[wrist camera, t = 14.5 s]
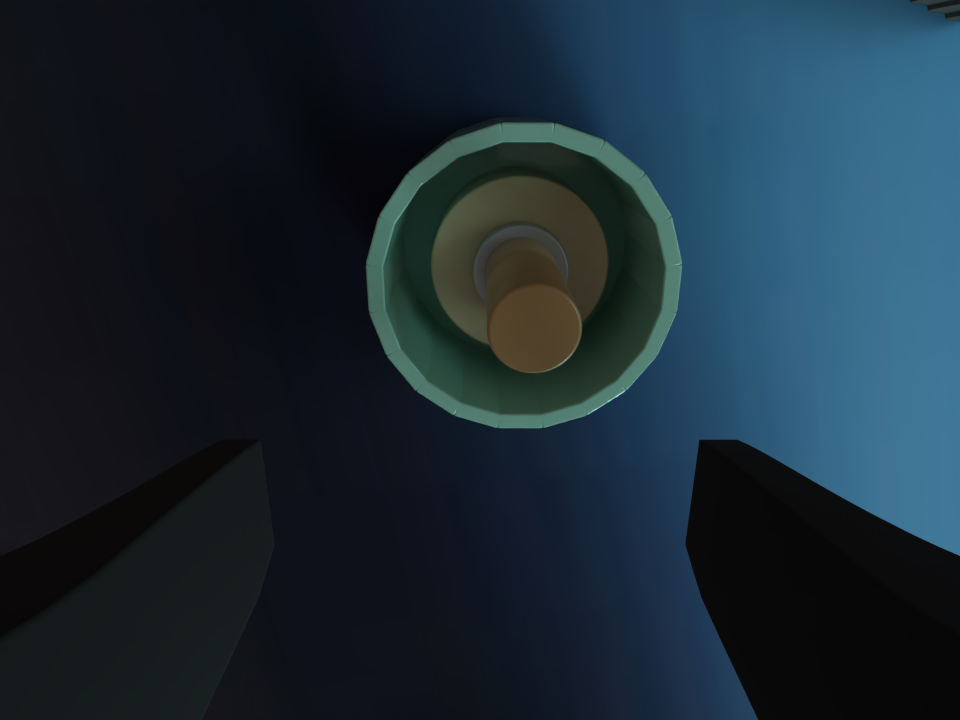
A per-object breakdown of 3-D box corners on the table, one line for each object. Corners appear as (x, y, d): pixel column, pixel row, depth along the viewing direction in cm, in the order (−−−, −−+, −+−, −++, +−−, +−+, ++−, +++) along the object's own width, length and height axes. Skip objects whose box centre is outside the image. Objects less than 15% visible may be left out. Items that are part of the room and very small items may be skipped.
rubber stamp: (458, 336, 20) (446, 460, 14) (418, 187, 19) (382, 240, 12) (605, 303, 20) (672, 412, 13) (578, 148, 18) (638, 178, 11)
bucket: (398, 356, 21) (375, 428, 17) (387, 116, 19) (356, 122, 14) (624, 356, 21) (664, 428, 17) (644, 116, 19) (699, 122, 14)
